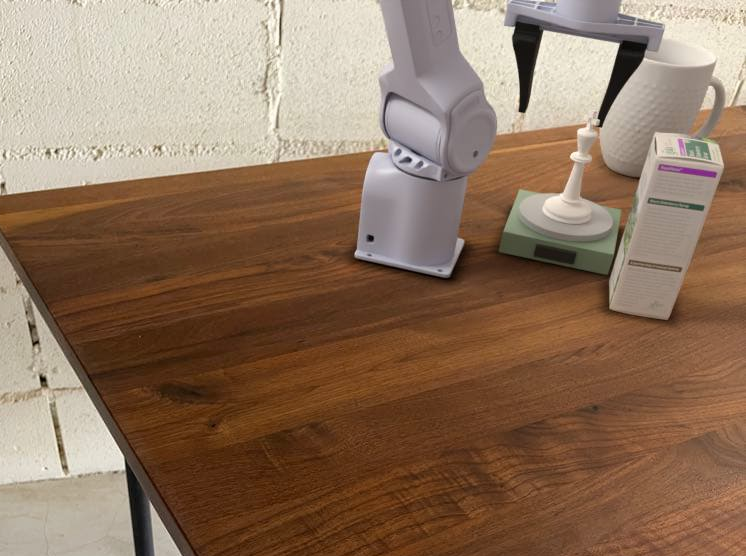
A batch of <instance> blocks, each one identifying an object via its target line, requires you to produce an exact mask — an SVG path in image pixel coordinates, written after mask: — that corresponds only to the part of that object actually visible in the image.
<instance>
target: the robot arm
mask: <svg viewBox="0 0 746 556" xmlns="http://www.w3.org/2000/svg"><path fill="white" fill-rule="evenodd" d="M378 2H379V6H380V11H381V15H382V20H383V24H384V28H385V32H386V33H385V34H386V36H387V42H388V45H389V50H390V54H391V59H392V60H390V62H388V63H387V65H386V66H385V67H384V68H383V70H382V71H381V73H380V74H379V76H378V78H377V80H378V85H379V88H380V105H379V113H378V120H379V127H380V129H381V132H382V134H383V135H384V137H385V138H386V139H387V140H388V148H387V152H383V151H376V152H374V153H373V155H372V156H371V157H370V159H369V163H368V165H367V168H366V172H365V176H364V182H363V186H362V193H361V202H360V210H359V211H360V213H359V223H358V234H357V243H356V250H355V252H354V258H356V259H357V260H362V261H367V262H371V263H374V264H375V263H376V264H379V265H384V266H389V267H392V268H393V267H394V268H398V269H403V270H407V271H412V272H416V273H421V274H425V275H430V276H434V277H439V278H443V279H448V278H451V275H452V273H453V270H454V268H455V266H456V263H457V262H458V259H459V257H460V255H461V252H462V250H463V248H464V246H465V239H464V238H460V237H458V236H459V231H460V226H461V219H462V214H463V208H464V205H465V204H464V203H465V199H466V192H467V188H468V187H467V186H468V181H469V175H473V174H476V172H477V170H478V169H479V168H480V167H481V166H482V164H483V163H485V161H486V160H487V158H488V157H489V155H490V153H491V151H492V149H493V148H494V144H495V141H496V137H497V133H498V132H497V131H498V117H497V114H496V111H495V109H494V107H493V106H492V105H491V104H490V103H489V101H488V99H487V96H486V93H485V89H484V88H485V87H484V83H483V80H482V79H481V78H480V76H479V75H478V74H477V72H476V71H475V69H474V68H473V67H472V65H471V64H470V63H469V62H468V60H467V59H466V57H465V56H464V55H463V53H462V52H461V50H460V45H459V39H458V32H457V26H456V19H455V12H454V7H453V0H378ZM622 2H623V0H556V1H541V0H508V2H507V4H506V9H505V14H504V20H503V26H505V27H509V28H514V29H513V33H512V35H511V43H512V48H513V52H514V53H513V54H514V56H515V63H516V67H517V68H516V69H517V74H518V87H519V89H518V90H519V99H518V100H519V101H518V113H520V114H526V112H527V110H528V108H529V104H530V99H531V95H532V89H533V82H534V74H535V69H536V65H537V60H538V56H539V51H540V48H541V42H542V39H543V35H544V31H545V32H551V33H556V34H562V35H568V36H574V37H580V38H586V39H591V40H598V41H602V42H610V43H614V44H619V43H620V44H619V48H618V52H617V55H616V59H615V63H614V66H613V70H612V74H611V77H610V81H609V84H608V87H607V86H606V87H607V90H606V93H605V92H604V94H605V96H604V95H603V97H602V102H601V104H600V107H599V110H598V115H597V118H596V119H598V120H600V123H599V125H597V126H595V125H594V127H595V128H599V127H600V128H602V126H603V123H604V121H605V118H606V116H607V114H608V112H609V110H610V108H611V106H612V104H613V102H614V101H615V99H616V97H617V96H618V94H619V93H620V91H621V90H622V88H623V87H624V85H625V84H626V82H627V81H628V80H629V78H630V77H631V76H632V74H633V73H634V72H635V71H636V70H637V68H638V67H639V66H640V64H641V63H642V61H643V59H644V56H645V51H646V50H648V51H653V52H658V50H659V47H660V43H661V40H662V37H664V34H665V30H666V24H665V23H664V22H663V23H662V22H657V21H652V20H648V19H643V18H641V17H636V16H632V15H629V14H625V13H621V12H620V9H621V4H622ZM600 128H599V129H600Z"/></svg>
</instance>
